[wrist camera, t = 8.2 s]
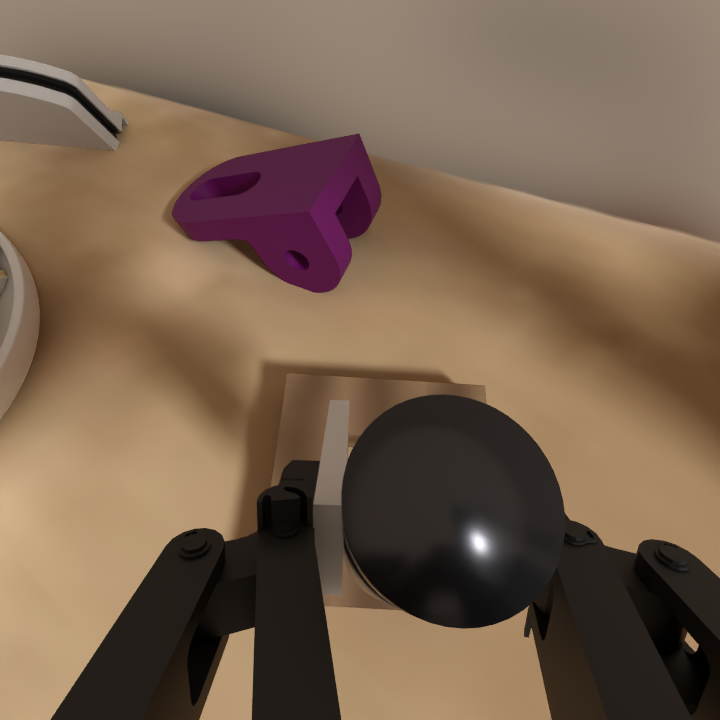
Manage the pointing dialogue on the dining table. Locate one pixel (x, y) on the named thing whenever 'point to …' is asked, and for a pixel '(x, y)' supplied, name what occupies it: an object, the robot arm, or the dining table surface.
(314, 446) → the socket block
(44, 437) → the dining table surface
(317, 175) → the mounting bracket
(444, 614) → the grey and black cylinder
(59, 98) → the napkin holder
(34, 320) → the bowl
